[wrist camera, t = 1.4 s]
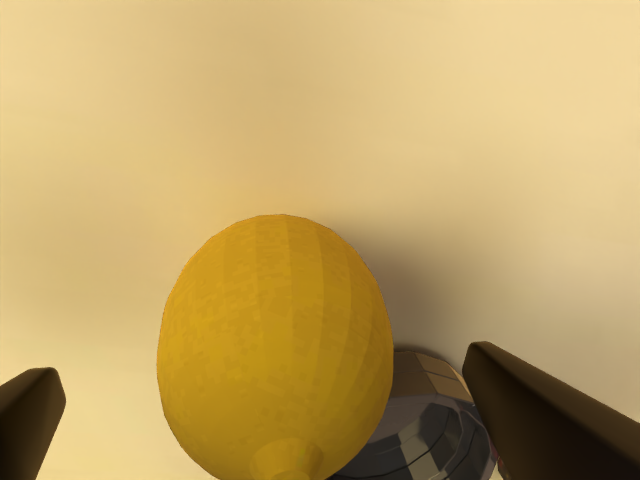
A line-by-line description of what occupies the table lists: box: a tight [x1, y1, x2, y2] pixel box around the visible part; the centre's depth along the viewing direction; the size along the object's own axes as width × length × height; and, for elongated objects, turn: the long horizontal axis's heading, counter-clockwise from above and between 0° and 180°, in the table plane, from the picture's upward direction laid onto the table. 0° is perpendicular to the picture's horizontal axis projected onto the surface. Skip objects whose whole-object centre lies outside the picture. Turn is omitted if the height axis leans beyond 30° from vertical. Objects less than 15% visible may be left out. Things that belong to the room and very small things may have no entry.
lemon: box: [157, 214, 394, 480], centre depth 9 cm, size 6×6×8 cm
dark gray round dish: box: [325, 351, 499, 480], centre depth 15 cm, size 9×9×3 cm
